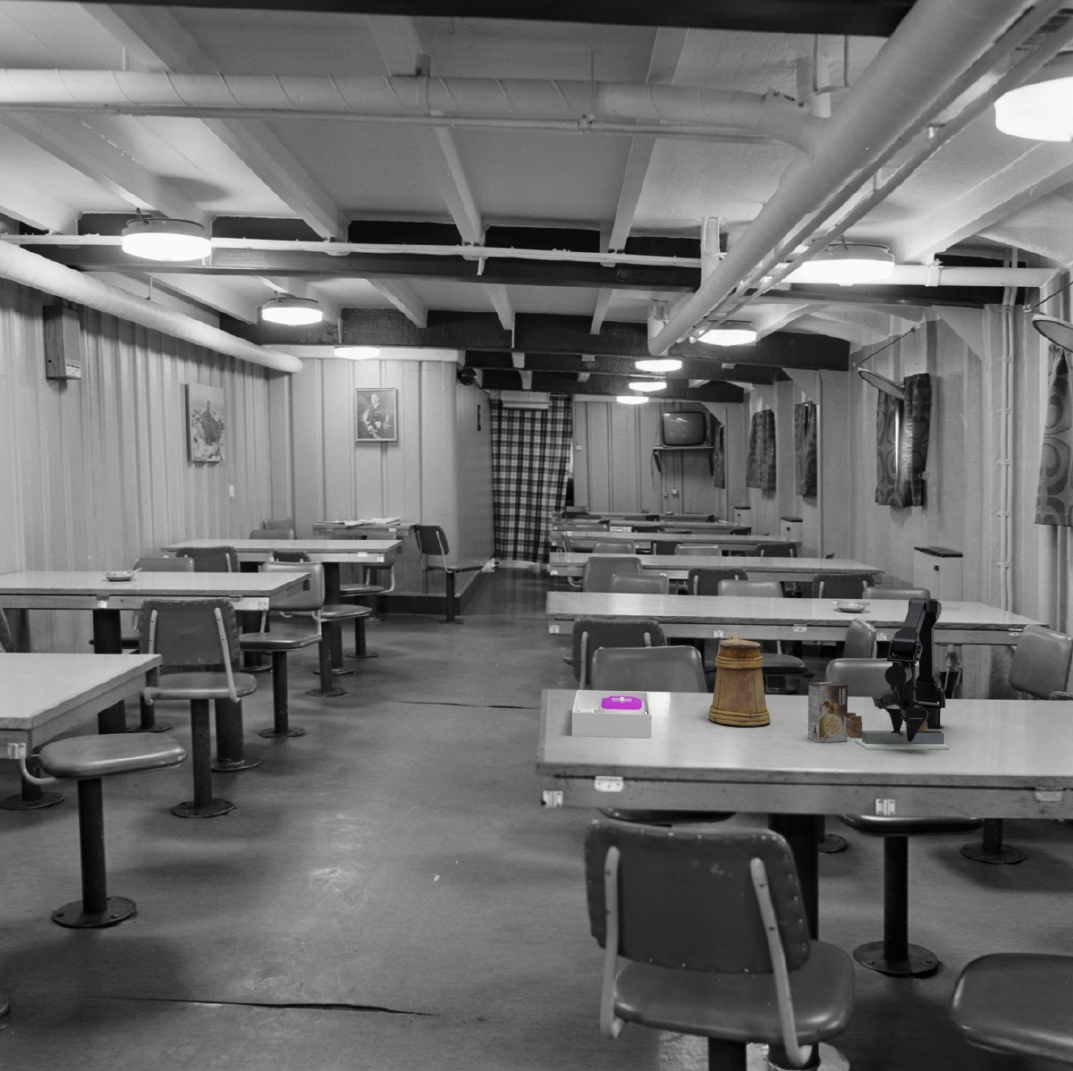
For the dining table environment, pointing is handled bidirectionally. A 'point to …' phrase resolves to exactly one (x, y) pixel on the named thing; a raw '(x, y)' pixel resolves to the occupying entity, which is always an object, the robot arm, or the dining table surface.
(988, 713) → the dining table surface
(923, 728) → the post
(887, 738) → the rail
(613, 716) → the light grey open box
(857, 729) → the post
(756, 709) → the tankard
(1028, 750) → the dining table surface
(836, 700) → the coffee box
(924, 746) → the pad
